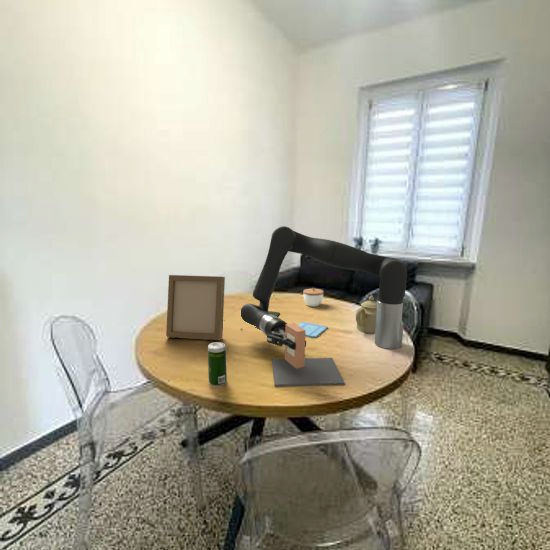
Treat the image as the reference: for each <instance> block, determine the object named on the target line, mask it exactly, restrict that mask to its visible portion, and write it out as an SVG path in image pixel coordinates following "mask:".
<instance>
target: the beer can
mask: <svg viewBox="0 0 550 550" xmlns="http://www.w3.org/2000/svg"><path fill="white" fill-rule="evenodd" d="M227 368H228V367H227V347H226V344H225V343H224V342H220V341H219V342H218V341H217V342H211V343H209V344H208V346H207V369H208V371H207V373H208V382H209V385H212V387H214V386H215V387H214V388H217V387H219V386H220V387H222V386H225V385H226V383H227V381H228V373H227V372H228V371H227V370H228V369H227ZM224 384H225V385H224Z"/></svg>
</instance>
